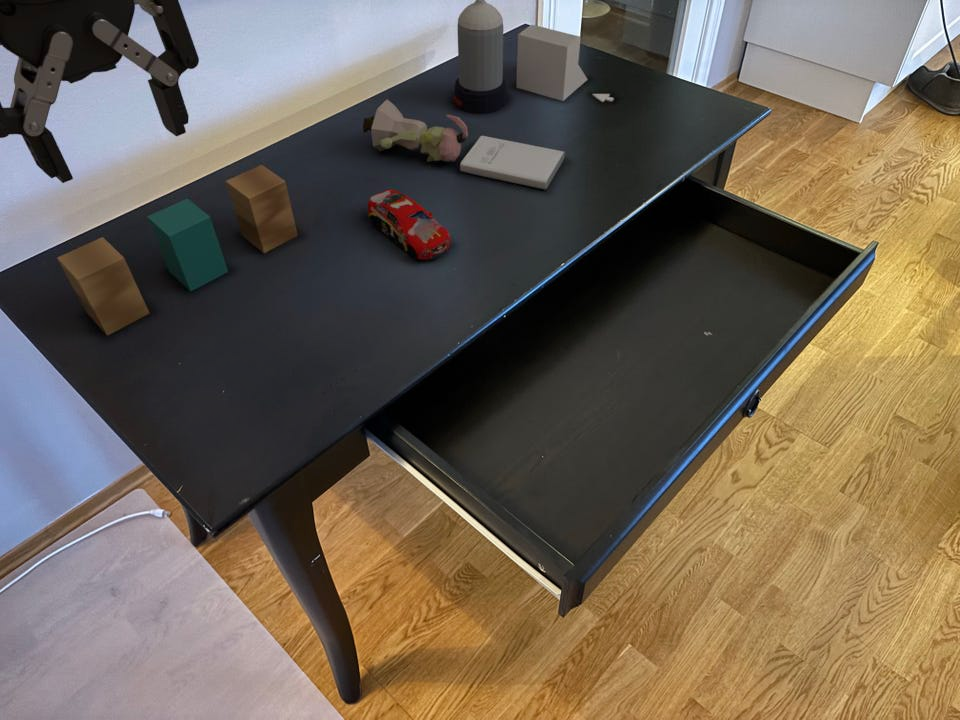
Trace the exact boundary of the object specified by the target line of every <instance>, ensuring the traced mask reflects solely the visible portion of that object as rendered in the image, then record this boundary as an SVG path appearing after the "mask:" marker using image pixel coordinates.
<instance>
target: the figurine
mask: <svg viewBox="0 0 960 720" xmlns="http://www.w3.org/2000/svg"><path fill="white" fill-rule="evenodd" d="M445 117H446V118H448V119H449V120H450V121H451V122H453V123H455V125H457V127H458V128H459V129H460V130H461V133H459V131H456V130H455V129H454V128H451V127H449V126H447V127H444V126H438V125H437V126H436V125H435V126H432V127H429V128H428V126H427V124H426V123H425V122H424V121H422V120H418V119H412V118H405V117H404V116H403V114H402V112H400V110H399V109H398V108H397V106H396V105H395V104H394V103H393V102H391V101H390V100H389V99H386V100H385V101H383V103H382V104H381V105H379V106H378V108H376V111H375V115H373V116H370V117H369V116H368V117H364V118H363V124H362V133H368V132H371V141H372V147H373V148H374V149H377V150H378V151H379V152H382V151H385V150H389V149H391V148H392V147H394V146H396V145H399V146H402V147H404V148H405V149H408V150H410V151H412V152H413V151H416V150H418V149H420V154H422V155H428V156H427V158H426V163H428V162H434V163H438V162H441V161H442V162H448V163H452V162H455V161H457V158H458V157H459V156H460V154H461V150H462V143H465V142H466V141H467V137H469V134H468V133H469V132H468V126H467V125H466V124H465V122H464V121H463V120H462V119H461V118H460V117H459V116H455V115H452V114H446V115H445Z"/></svg>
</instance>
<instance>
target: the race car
mask: <svg viewBox="0 0 960 720" xmlns="http://www.w3.org/2000/svg"><path fill="white" fill-rule="evenodd" d="M366 211H367V216H368V219H369V220H370V222H372V224H373V226H374V228H375V229H376V230H378V231H381V232H382V233H383V234H385V235H386V236H387V237H388V238H389V239H391V240H392V241H393V242H394V243H396V244H397V245H398V246H400V247H401V249H403V250H404V251H405V252H408V255H409V256H410V257H411V258H412V259H413V260H431V259H436V258H438V257H441V256H442V255H444V254H445V253H446V252H447V251H448V250H449V248H450V246H451V235H450V232H449V231H448V230H447V229H446V228H445V226H442V225H441V224H440V223H439V222H438V221H437V220H436V219H435V218H434V217H433V216H432V215H433V214H434V211H430V212H428V211H427V210H426V209H425V208H424V207H422V206H421V205H420V204H419V203H417V202H416V201H415V200H414V199H412V198H411V197H410V196H407V195H406V194H404V193H402V192H399V191H397V190H395V189H385V190H382V191H381V192H378V193H376V194H373V195H372V196H371V197H370V198H369V199H368V200H367V207H366Z"/></svg>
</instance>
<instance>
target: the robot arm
mask: <svg viewBox="0 0 960 720" xmlns="http://www.w3.org/2000/svg"><path fill="white" fill-rule="evenodd" d="M136 5H139V8H140V9H141V10H142V11H143V12H144V13H147V14H148V15H149V16H151V17H152V19H153V22H154V24H155V27H156V29H157V32H158V35H159V37H160V40H161V43H162V45H163V48H164V51H163V52H162V53H160V54H159V55H158V56H156V55H155V54H153V53H152V52H151V51H149V50H148V49H147V48H145V47H144V46H142V45H141V44H140V43H139V42H137V41H135V40H134V39H133V38H131V37H130V36H129V33H130V29H131V26H132V22H133V19H134V16H135V11H136ZM0 46H2V48H4V49H5V50H7V51H9V52H10V53H12V54H13V55H15V56H16V57H17V58H18V59H17V63H16V67H15V71H14V74H13V83H14V90H13V94H12V98H11V102H10V106H9V107H3V105H2V103H1V101H0V139H3V138H7V137H8V136H10V135H20V136H21V137H22V139H23V141H24V143H25V145H26V146H27V149H28V151H29V152H30V155H31V156H32V158H33V161H34V162H35V165H36V166H37V167H38V168H39V169H41V171H42V172H43V173H44V174H46V175H47V176H48V177H49V178H50V179H54V178H57V179H58V180H59V181H60V182H61V183H62V184H66V183H67V182H69V181H72V180H74V177H73V174H72V173H71V171H70V168H69V166H68V164H67V161H66V160H65V158H64V156H63V153H62V152H61V149H60V147H59V145H58V143H57V141H56V138H55V137H54V134H53V133H52V131H51V130H49V129H48V128H47V127H46V124H47V121H48V117H49V113H50V109H51V107H52V105H55V103H56V101H57V98H58V94H59V92H60V91H59V90H60V87H61V83H62V82H67V83H68V84H74V83H77V82H80V81H82V80H85V79H86V78H87V77H89V76H90V75H92V74H93V73H105V72H106V73H107V72H109V71H112V70H115V69H117V64H118V63H119V62H120V61H121V59H122V58H123V57H124V58H126V59H127V60H129V61H130V62H131V63H133V64H134V65H136V66H137V67H139V69H142V70H143V71H145V72H146V73H147V74H149V75H150V77H151V78H149V79H147V83H148V85H149V88H150V91H151V94H152V98H153V100H154V103H155V105H156V109H157V111H158V114H159V117H160V119H161V122H162V125H163V126H164V128H165V130H167V131H168V132H169V133H171V134H172V135H173V136H175V137H179V136H181V135H184V134H186V132H187V130H186V127H185V125H187V124H189V119H190V118H189V117H190V115H189V112H188V110H187V107H186V104H185V101H184V96H183V94H182V91H181V87H180V84H179V82H180V81H179V80H180V77H181V76H182V74H183V73H185V72H186V71H187V70H194V69H195V68H197V67H198V65H199V62H200V58H199V55H198V52H197V49H196V46H195V43H194V40H193V37H192V35H191V32H190V29H189V26H188V24H187V21H186V17H185V15H184V12H183V9H182V6H181V4H180V1H179V0H0Z"/></svg>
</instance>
